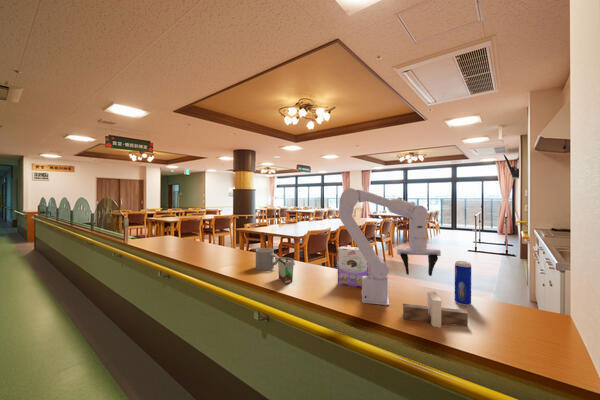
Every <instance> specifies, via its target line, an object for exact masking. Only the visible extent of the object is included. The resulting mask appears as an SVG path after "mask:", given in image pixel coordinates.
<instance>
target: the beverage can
mask: <svg viewBox="0 0 600 400" xmlns="http://www.w3.org/2000/svg"><path fill="white" fill-rule="evenodd" d="M454 302H455V303H456V304H457V305H460V306H464V307H465V306H467V307H468V306H470V305H471V304H472V264H471V262H469V261H464V260H458V261H455V262H454Z"/></svg>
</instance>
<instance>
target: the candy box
mask: <svg viewBox="0 0 600 400" xmlns="http://www.w3.org/2000/svg"><path fill="white" fill-rule="evenodd" d="M336 250H337V284H338V285H342V286H349V287H355V288H361V289H362V277H363V276H368V274H369V272H370V269H369V268H368V263H367V261H366V260H365V258H364V256H363V255H362V253H361V251H360V250H359V248H358V247H357V246H356V247H354V246H346V245H345V246H344V245H343V246H342V245H341V246H339V247H337V249H336Z"/></svg>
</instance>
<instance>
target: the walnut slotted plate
mask: <svg viewBox="0 0 600 400" xmlns="http://www.w3.org/2000/svg"><path fill="white" fill-rule="evenodd" d="M468 315H469V314H468V312H467V310H465V309H461V308H460V309H458V308H449V307H441V324H442V323H443V324H444V325H452V326H460V327H468V326H469V325H468V324H469V322H468V321H469V318H468V317H469V316H468ZM402 318H403V320H409V321H410V320H411V321H417V320H418V321H419V322H427V323H431V316H430V313H429V312H428V305H421V304H419V305H418V304H411V303H402Z"/></svg>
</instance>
